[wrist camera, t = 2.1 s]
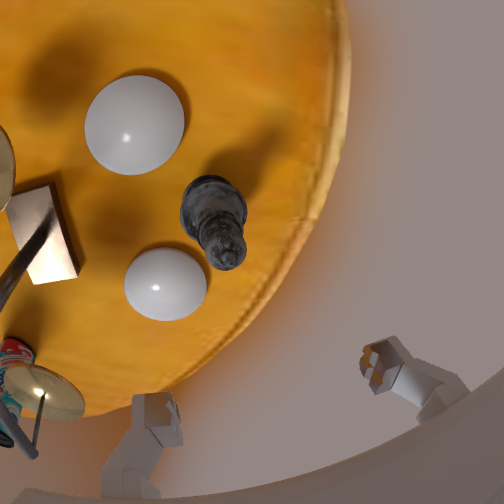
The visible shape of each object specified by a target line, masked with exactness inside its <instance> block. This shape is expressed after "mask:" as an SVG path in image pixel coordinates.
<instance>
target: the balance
mask: <svg viewBox="0 0 504 504" xmlns="http://www.w3.org/2000/svg"><path fill="white" fill-rule="evenodd" d="M15 177H16V162H15V155H14V151H13V147H12V144H11V141H10V139H9V137H8V135H7V133H6V132H5V130H4V129H3V128H2V127H1V125H0V212H1V211H2V210H3V209H4V208H5V209H6V213H7V216H8V219H9V222H10V225H11V228H12V231H13V234H14V237H15V240H16V243H17V245H18V248H19V253H18V254H17V255H16V256H15V258H14V259H13V260H12V262H11V263H10V264H9V266H8V267H7V268H6V270H5V271H4V272H3V274H2V275H1V277H0V312H1V311H2V309H3V307H4V305H5V304H6V302H7V300H8V299H9V297H10V295H11V294H12V292H13V290H14V289H15V287H16V285H17V284H18V282H19V281H20V279H21V277H22V276H23V274H24V273H25V271H26V270H28V273H29V275H30V277H31V280H32V282H33V284H34V285H35V284H41V283H47V282H53V281H59V280H64V279H70V278H76V277H78V275H79V273H80V270H81V269H80V266H79V263H78V260H77V258H76V255H75V252H74V249H73V246H72V243H71V240H70V237H69V233H68V230H67V227H66V224H65V220H64V217H63V213H62V210H61V206H60V202H59V198H58V195H57V191H56V186H55V182H50V183H47V184H43V185H40V186H37V187H33V188H30V189H27V190H24V191H21V192H18V193H14V194H12V192H13V189H14V184H15ZM4 385H5V387H6V389H7V391H8V392H9V394H10V395H11V396H12V397H13V398H14V400H15V401H17V402H18V403H19V404H20V405H21V406H23V407H24V408H26V409H27V410H29V411H31V412H32V413H34V414H36V415H37V417H36V423H35V428H34V433H33V439H32V443H31V442H30V440H29V439H28V437H27V436H26V435H25V433H24V432H23V431H22V429H21V428H20V426H19V425H18V423H17V422H16V420H15V419H14V417H13V416H12V414H11V413H10V411H9V410H8V408H7V406H6V405H5V403H4V402H3V400H2V398H1V396H0V422H1V423H2V425H3V426H4V427H5V429H6V430H7V432H8V433H9V434H10V436H11V437H12V438H13V440H14V441H15V442H16V444H17V445H18V446H19V448H21V450H22V451H23V453H24V454H25V455H26V456H27V458H29V459H31V460H33V459H35V458H36V457H37V456H38V451H37V450H36V443H37V438H38V431H39V426H40V420H41V417H44V418H47V419H51V420H55V421H63V422H68V421H74V420H77V419H79V418H81V417H82V416H83V414H84V411H85V400H84V397H83V395H82V394H81V392H80V391H79V390H78V389H77V388H76V387H75V386H74V385H73V384H72V383H71V382H70V381H68V380H67V379H65V378H64V377H62V376H61V375H59V374H57V373H55V372H53V371H51V370H49V369H47V368H44V367H41V366H38V365H35V364H30V363H15V364H12V365H10V366H9V367H8V368H7V370H6V372H5V375H4Z"/></svg>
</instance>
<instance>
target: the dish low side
mask: <svg viewBox="0 0 504 504" xmlns="http://www.w3.org/2000/svg"><path fill="white" fill-rule="evenodd" d="M183 131H184V112H183V108H182V105H181V103H180V100H179V98H178V97H177V95H176V94H175V92H174V91H173V90H172V89H171V88H170V87H169V86H168V85H166V84H165V83H163V82H162V81H160V80H158V79H156V78H153V77H149V76H143V75H134V76H127V77H124V78H121V79H118V80H116V81H114V82H112V83H110V84H109V85H107V86H106V87H105V88H104V89H102V90H101V91H100V92H99V93H98V95H97V96H96V97H95V98H94V100H93V102H92V103H91V105H90V107H89V110H88V112H87V116H86V120H85V138H86V142H87V145H88V148H89V150H90V152H91V154H92V155H93V156H94V158H95V159H96V160H97V161H98V162H99V163H100V164H101V165H102V166H104V167H105V168H107V169H108V170H110V171H113V172H115V173H119V174H124V175H138V174H143V173H147V172H149V171H152V170H154V169H156V168H158V167H159V166H161V165H162V164H164V163H165V162H166V161H167V160H168V159H169V158H170V157H171V156H172V155H173V153H174V152H175V150H176V149H177V147H178V145H179V143H180V141H181V138H182V135H183Z"/></svg>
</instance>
